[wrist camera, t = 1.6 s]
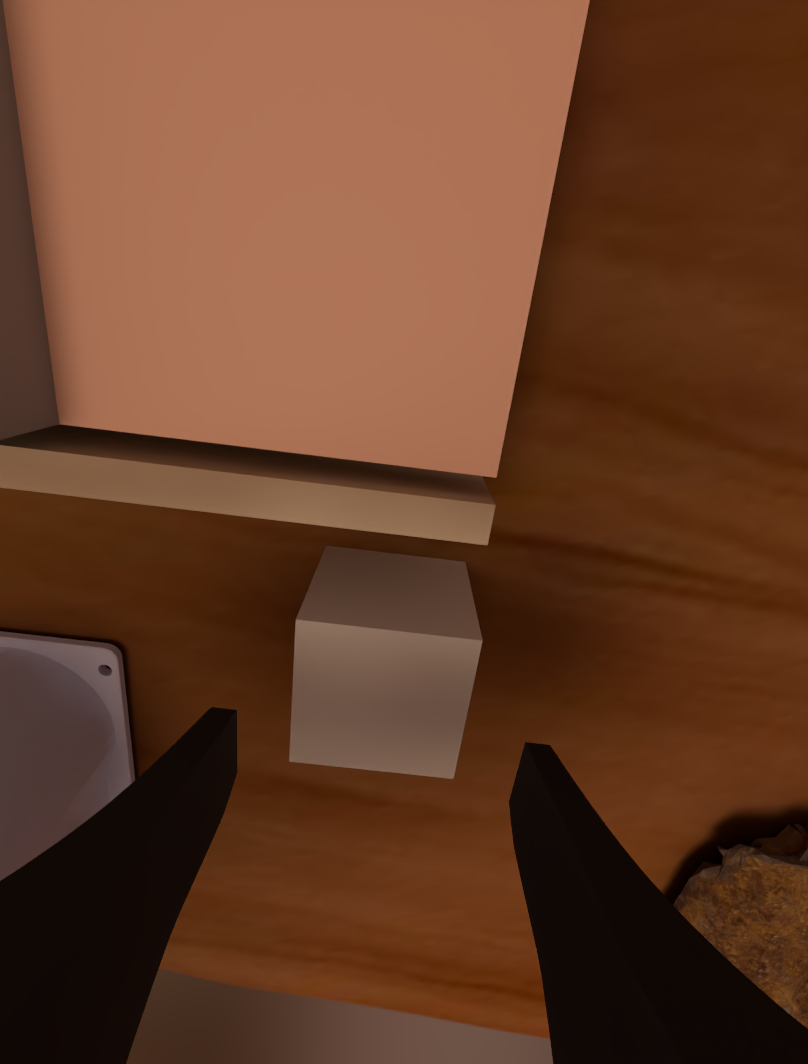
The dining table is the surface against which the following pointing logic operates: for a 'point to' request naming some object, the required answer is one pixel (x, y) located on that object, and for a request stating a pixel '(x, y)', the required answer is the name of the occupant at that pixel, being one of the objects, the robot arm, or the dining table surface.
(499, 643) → the dining table surface
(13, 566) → the dining table surface
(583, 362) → the dining table surface
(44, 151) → the trapdoor
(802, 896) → the decorative rock
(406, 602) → the beige cube
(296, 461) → the frame
